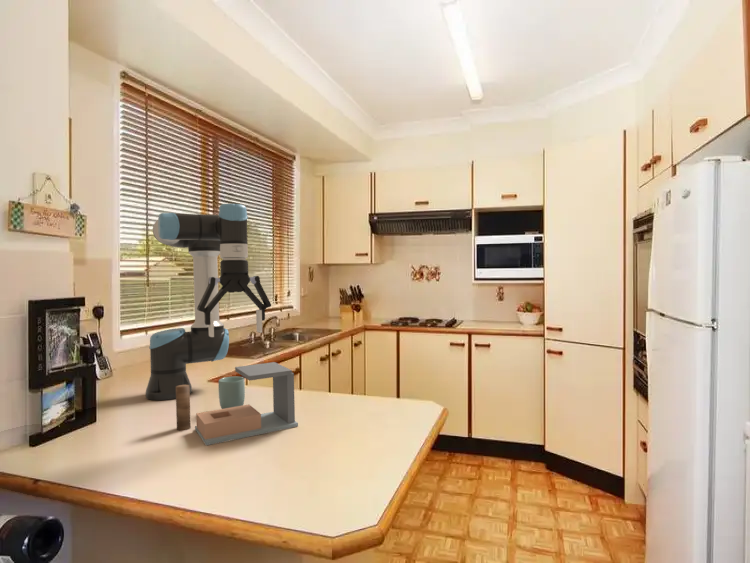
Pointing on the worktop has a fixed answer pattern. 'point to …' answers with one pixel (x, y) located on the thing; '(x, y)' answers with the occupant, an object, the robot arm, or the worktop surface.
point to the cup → (231, 392)
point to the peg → (183, 407)
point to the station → (252, 409)
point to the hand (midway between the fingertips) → (236, 334)
